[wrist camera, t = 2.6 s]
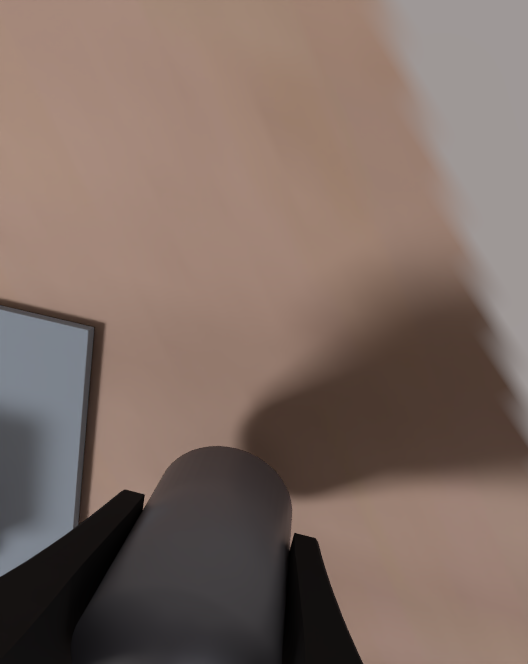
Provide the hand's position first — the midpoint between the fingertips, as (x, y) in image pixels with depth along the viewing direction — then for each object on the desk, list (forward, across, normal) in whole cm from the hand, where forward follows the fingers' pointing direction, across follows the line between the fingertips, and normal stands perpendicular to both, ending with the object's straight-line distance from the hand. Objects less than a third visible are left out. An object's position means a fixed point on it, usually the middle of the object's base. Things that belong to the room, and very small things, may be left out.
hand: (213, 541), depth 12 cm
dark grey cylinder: (+1, 0, 0) cm, 1 cm away
